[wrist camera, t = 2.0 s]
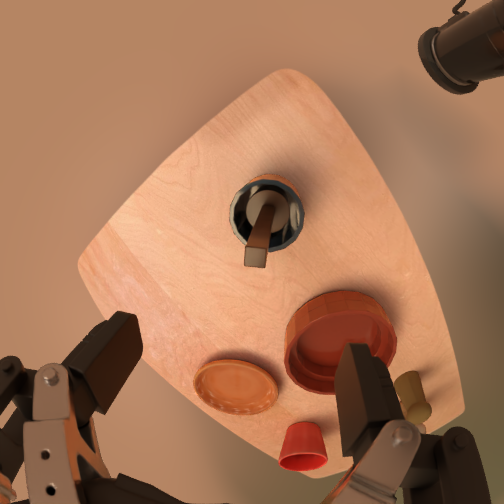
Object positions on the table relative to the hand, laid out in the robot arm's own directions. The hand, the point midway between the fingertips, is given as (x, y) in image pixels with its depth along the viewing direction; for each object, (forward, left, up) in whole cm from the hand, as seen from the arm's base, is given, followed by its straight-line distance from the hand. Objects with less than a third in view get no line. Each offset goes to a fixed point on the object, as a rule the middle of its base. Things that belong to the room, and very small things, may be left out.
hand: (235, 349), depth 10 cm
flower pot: (+50, +13, -28) cm, 59 cm away
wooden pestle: (0, 0, -28) cm, 28 cm away
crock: (0, 0, -28) cm, 28 cm away
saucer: (+34, -3, -28) cm, 44 cm away
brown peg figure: (+32, +32, -28) cm, 53 cm away
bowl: (+20, +13, -28) cm, 37 cm away
